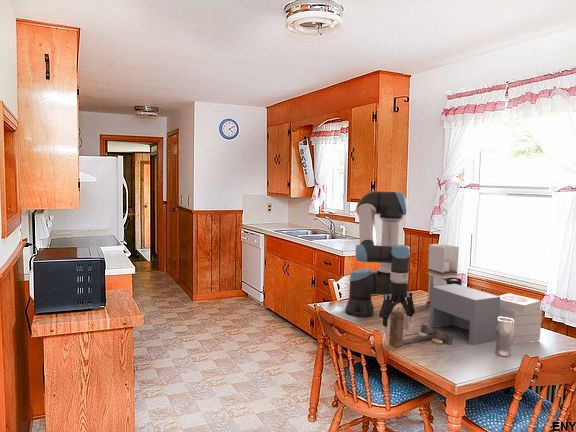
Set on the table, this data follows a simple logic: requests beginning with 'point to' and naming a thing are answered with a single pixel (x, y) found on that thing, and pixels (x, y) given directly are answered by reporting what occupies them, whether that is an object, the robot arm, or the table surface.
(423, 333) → the steel token
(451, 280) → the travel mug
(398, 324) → the brown upright bracket
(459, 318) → the grey cabinet
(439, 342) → the brass token
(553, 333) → the table surface
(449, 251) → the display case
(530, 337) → the stacked pizza boxes
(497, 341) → the beer glass
